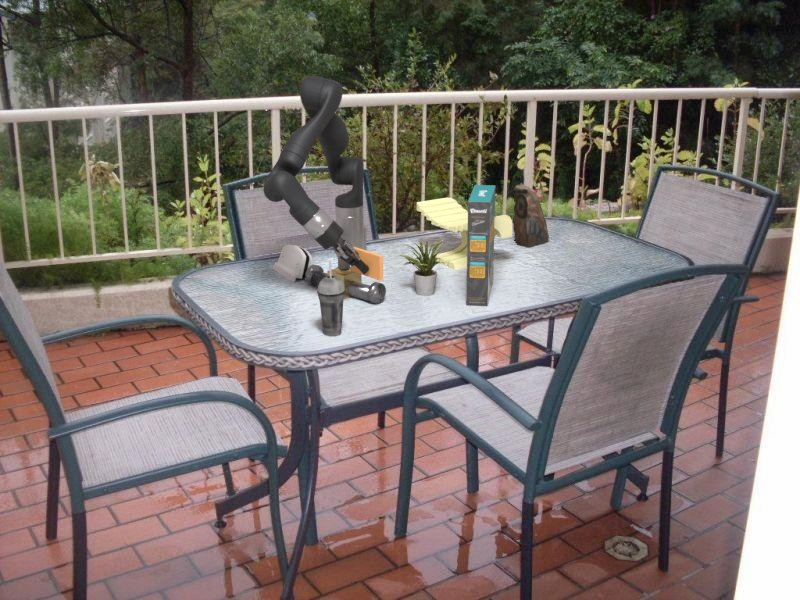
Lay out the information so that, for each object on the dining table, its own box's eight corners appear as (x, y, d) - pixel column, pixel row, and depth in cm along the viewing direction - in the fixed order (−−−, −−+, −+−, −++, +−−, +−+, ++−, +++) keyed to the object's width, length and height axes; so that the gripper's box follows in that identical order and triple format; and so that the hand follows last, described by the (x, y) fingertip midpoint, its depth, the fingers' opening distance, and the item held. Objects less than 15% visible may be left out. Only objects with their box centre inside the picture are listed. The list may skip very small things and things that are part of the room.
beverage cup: (346, 328, 245) (344, 255, 239) (346, 337, 238) (344, 263, 232) (319, 328, 245) (316, 255, 239) (317, 338, 238) (315, 264, 232)
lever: (335, 267, 270) (334, 244, 268) (345, 265, 272) (344, 241, 270) (376, 282, 257) (376, 257, 255) (386, 279, 259) (386, 255, 257)
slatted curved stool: (510, 267, 296) (512, 213, 290) (471, 276, 288) (472, 220, 282) (454, 246, 320) (455, 196, 314) (416, 254, 311) (416, 202, 305)
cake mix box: (473, 281, 282) (474, 184, 272) (492, 282, 281) (495, 185, 272) (466, 305, 262) (468, 201, 252) (487, 306, 261) (490, 202, 251)
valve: (321, 281, 284) (320, 257, 282) (387, 300, 266) (387, 275, 264) (304, 286, 279) (303, 262, 277) (370, 306, 261) (370, 281, 259)
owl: (528, 249, 316) (530, 191, 310) (499, 242, 325) (501, 186, 318) (550, 241, 325) (553, 185, 318) (522, 235, 333) (524, 180, 327)
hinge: (272, 268, 297) (280, 238, 295) (285, 271, 299) (293, 241, 298) (293, 282, 283) (302, 251, 282) (307, 285, 286) (316, 254, 284)
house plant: (422, 281, 283) (422, 229, 278) (459, 290, 275) (460, 236, 269) (392, 293, 273) (392, 239, 267) (430, 302, 264) (430, 247, 259)
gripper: (314, 231, 262) (357, 273, 267) (311, 244, 250) (357, 287, 254) (333, 213, 261) (376, 255, 265) (331, 225, 248) (376, 269, 253)
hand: (367, 271), depth 260 cm, fingers closed
